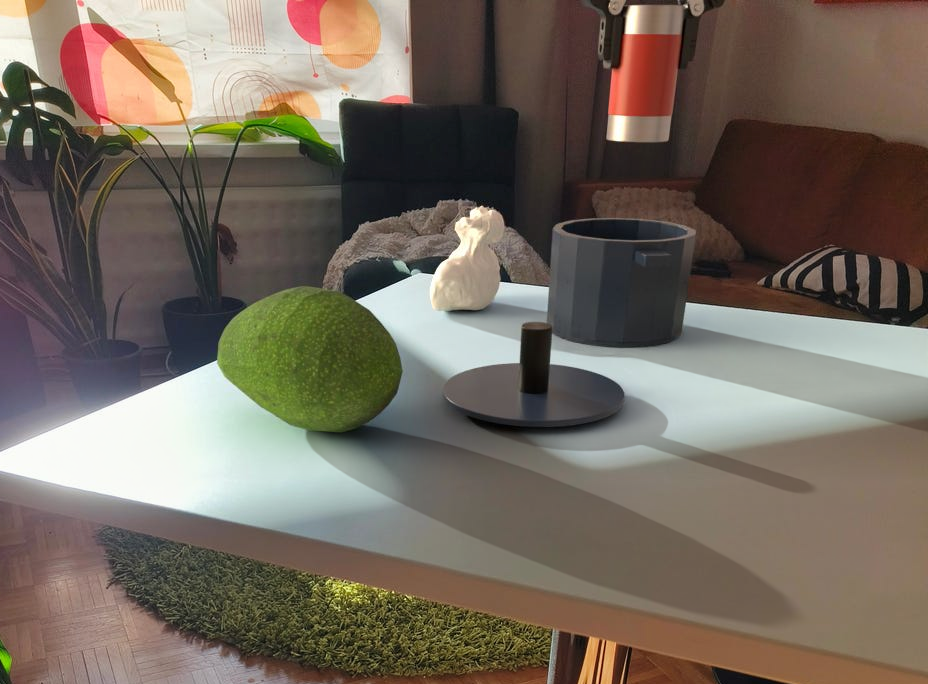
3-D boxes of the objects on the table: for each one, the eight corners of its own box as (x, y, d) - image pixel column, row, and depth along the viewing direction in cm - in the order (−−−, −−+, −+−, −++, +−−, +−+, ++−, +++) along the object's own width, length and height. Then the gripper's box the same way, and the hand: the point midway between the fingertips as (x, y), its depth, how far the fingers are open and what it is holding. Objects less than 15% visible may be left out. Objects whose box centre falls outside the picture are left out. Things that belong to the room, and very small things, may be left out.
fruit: (194, 420, 69) (172, 283, 63) (287, 387, 75) (275, 261, 70) (339, 466, 61) (329, 316, 55) (428, 426, 68) (427, 287, 62)
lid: (591, 371, 79) (598, 300, 76) (650, 429, 67) (661, 347, 64) (429, 379, 77) (429, 306, 74) (460, 440, 65) (461, 356, 62)
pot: (644, 304, 100) (655, 212, 95) (714, 351, 85) (732, 245, 80) (526, 309, 98) (531, 215, 93) (576, 358, 83) (585, 249, 78)
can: (655, 137, 84) (670, 7, 79) (678, 142, 80) (696, 5, 74) (597, 137, 83) (608, 6, 78) (617, 143, 79) (631, 4, 73)
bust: (445, 340, 95) (507, 258, 88) (395, 289, 95) (453, 201, 88) (491, 316, 104) (552, 239, 97) (446, 269, 104) (503, 188, 97)
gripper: (599, -205, 65) (579, 69, 74) (782, -195, 67) (740, 70, 76) (570, -184, 71) (554, 67, 80) (738, -175, 73) (704, 68, 83)
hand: (645, 67), depth 78 cm, fingers closed on can, 5 cm apart
